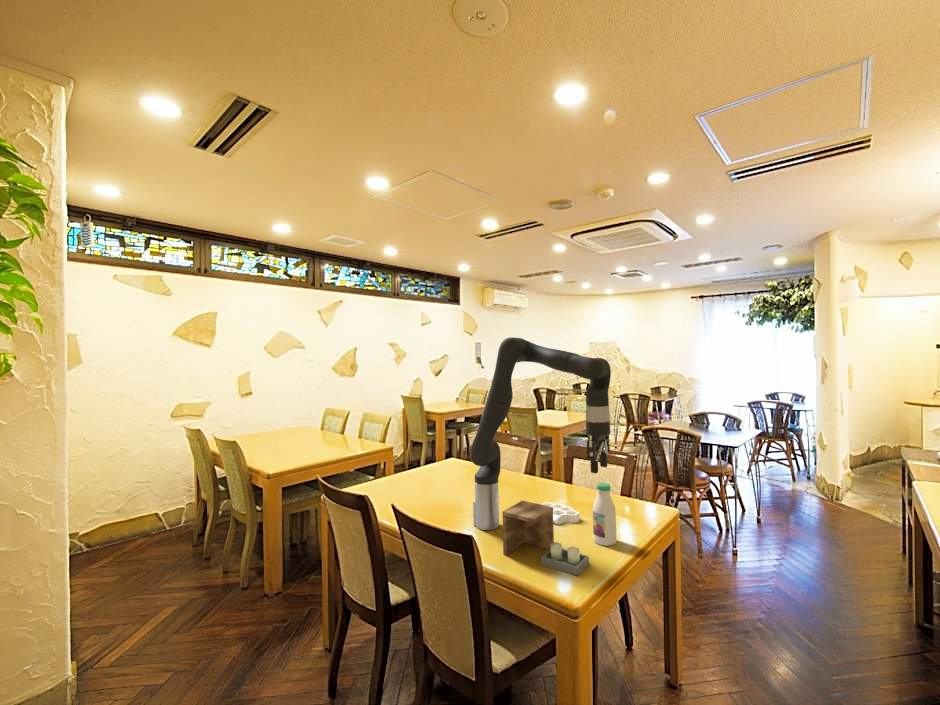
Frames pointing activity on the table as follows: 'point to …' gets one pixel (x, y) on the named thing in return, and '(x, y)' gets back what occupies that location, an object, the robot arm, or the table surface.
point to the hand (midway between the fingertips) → (599, 469)
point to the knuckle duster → (563, 513)
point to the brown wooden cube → (527, 526)
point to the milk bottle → (604, 517)
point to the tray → (565, 563)
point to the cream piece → (573, 556)
